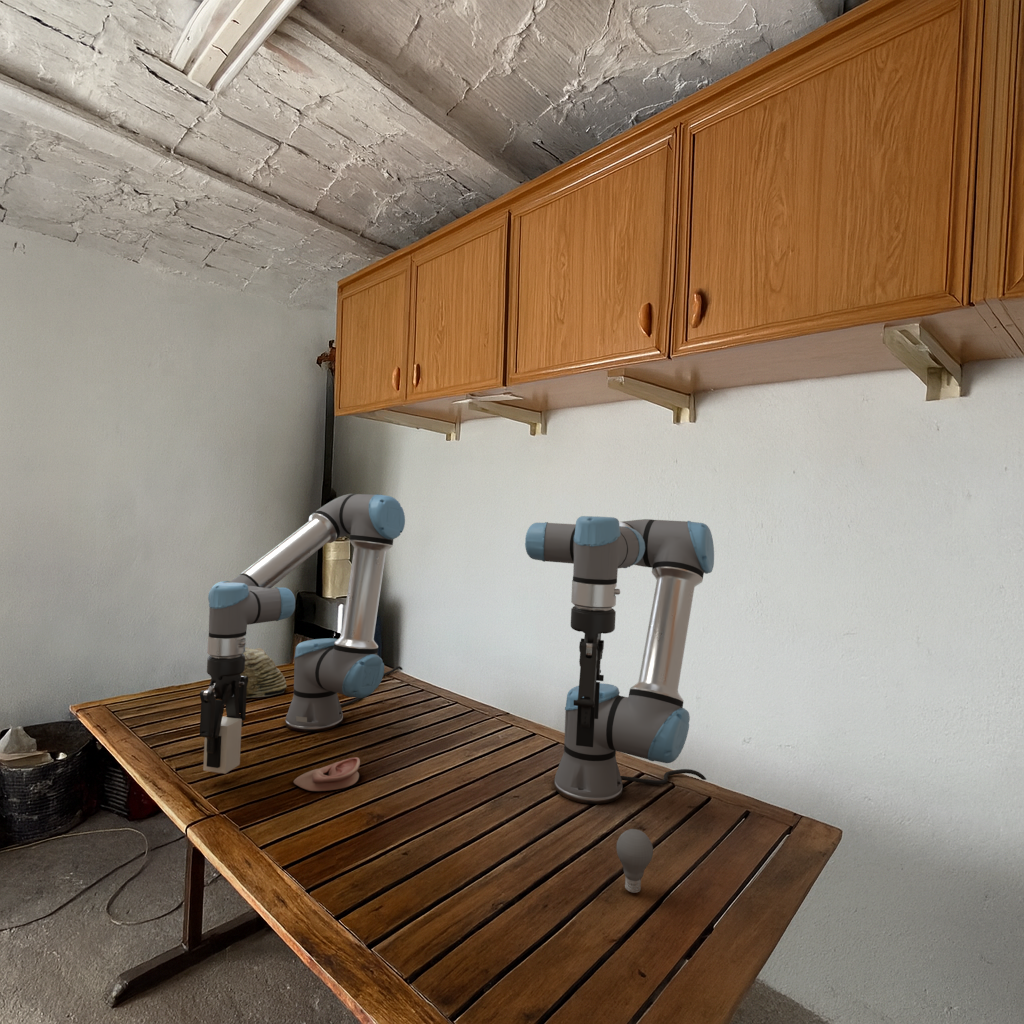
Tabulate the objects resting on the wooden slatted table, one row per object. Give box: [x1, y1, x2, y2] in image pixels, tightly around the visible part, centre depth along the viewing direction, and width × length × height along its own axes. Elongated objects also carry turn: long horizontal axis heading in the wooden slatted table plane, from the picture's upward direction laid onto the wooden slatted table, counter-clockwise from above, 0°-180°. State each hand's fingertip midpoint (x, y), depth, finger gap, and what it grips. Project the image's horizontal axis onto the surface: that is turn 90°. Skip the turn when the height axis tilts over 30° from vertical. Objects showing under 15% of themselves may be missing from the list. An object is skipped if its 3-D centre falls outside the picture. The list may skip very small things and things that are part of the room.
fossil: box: [240, 646, 288, 699], centre depth 198 cm, size 9×18×15 cm, turn 132°
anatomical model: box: [293, 757, 361, 792], centre depth 141 cm, size 13×4×12 cm
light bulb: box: [615, 828, 654, 894], centre depth 106 cm, size 6×6×10 cm
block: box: [202, 716, 243, 775], centre depth 138 cm, size 5×5×10 cm
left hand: (221, 761), depth 138 cm, fingers closed on block, 5 cm apart
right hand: (587, 731), depth 108 cm, fingers open, 13 cm apart
